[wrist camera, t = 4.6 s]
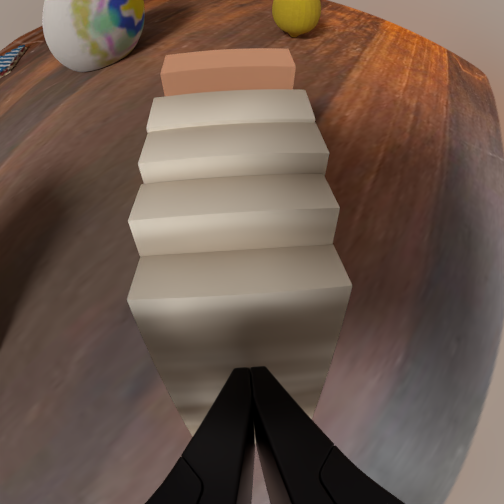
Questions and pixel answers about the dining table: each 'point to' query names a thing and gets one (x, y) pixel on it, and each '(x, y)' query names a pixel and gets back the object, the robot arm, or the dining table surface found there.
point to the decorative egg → (92, 31)
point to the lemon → (296, 15)
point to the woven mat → (10, 60)
